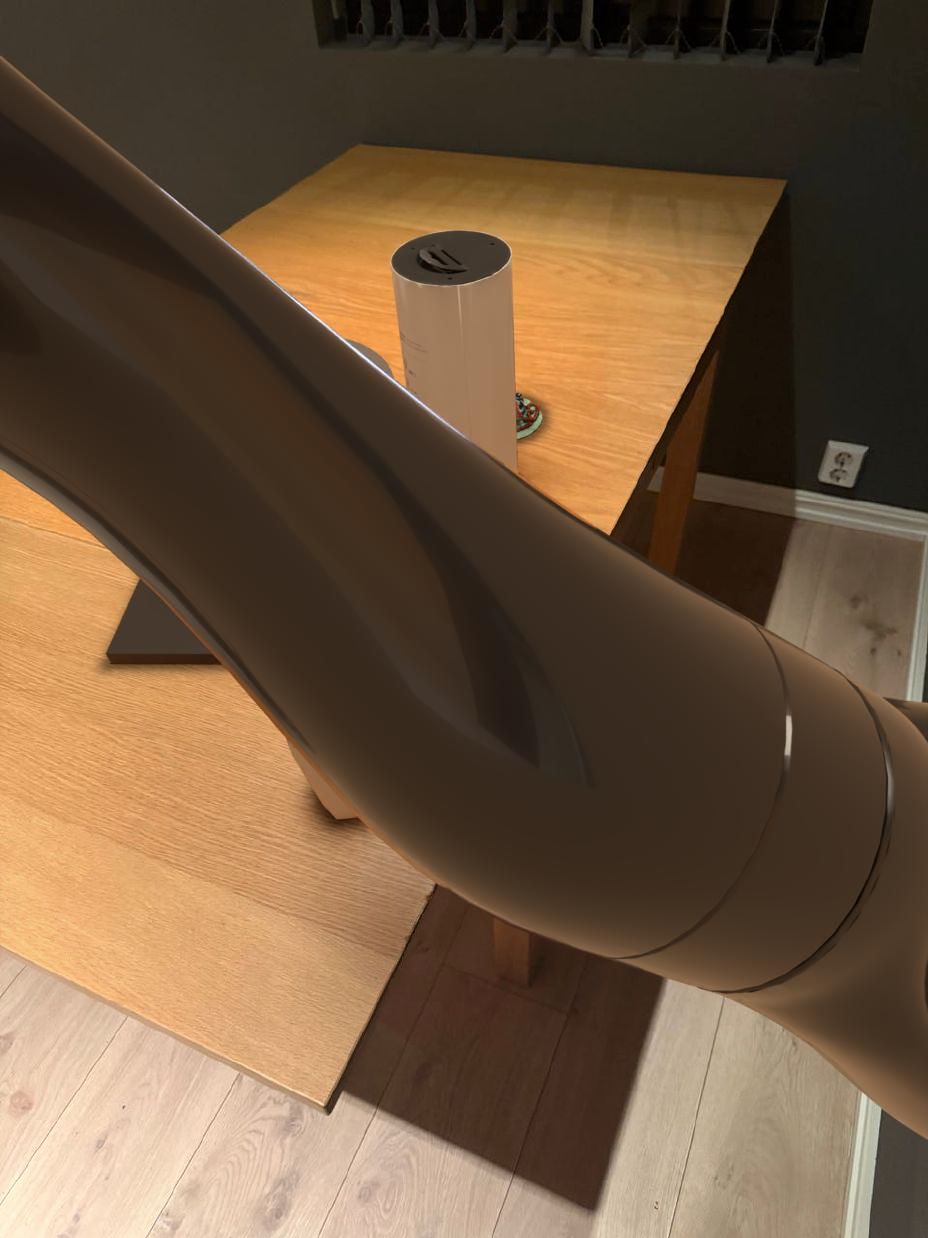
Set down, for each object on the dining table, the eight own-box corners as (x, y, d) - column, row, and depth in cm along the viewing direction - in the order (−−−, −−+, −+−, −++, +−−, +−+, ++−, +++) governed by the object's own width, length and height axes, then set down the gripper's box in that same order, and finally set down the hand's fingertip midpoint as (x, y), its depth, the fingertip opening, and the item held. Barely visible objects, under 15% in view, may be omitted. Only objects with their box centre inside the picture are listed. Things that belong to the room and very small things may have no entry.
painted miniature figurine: (498, 370, 104) (511, 363, 96) (540, 414, 105) (556, 411, 98) (451, 419, 104) (460, 417, 97) (493, 462, 106) (506, 463, 98)
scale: (111, 663, 79) (98, 641, 77) (159, 554, 89) (149, 532, 87) (284, 664, 78) (276, 641, 76) (314, 553, 88) (308, 530, 85)
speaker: (533, 515, 89) (529, 262, 70) (435, 540, 88) (403, 288, 69) (501, 456, 96) (488, 213, 77) (409, 478, 95) (374, 236, 76)
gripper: (612, 483, 33) (337, 393, 44) (347, 718, 27) (111, 548, 39) (638, 625, 37) (384, 512, 49) (417, 847, 32) (190, 664, 43)
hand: (264, 528), depth 44 cm, fingers closed
